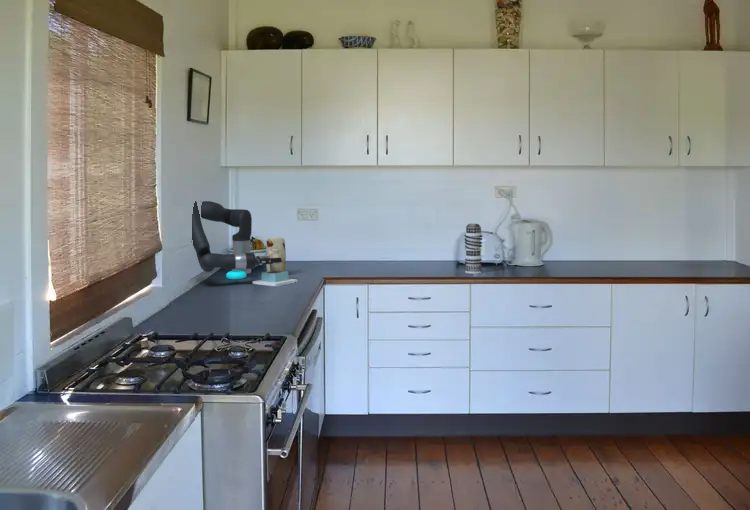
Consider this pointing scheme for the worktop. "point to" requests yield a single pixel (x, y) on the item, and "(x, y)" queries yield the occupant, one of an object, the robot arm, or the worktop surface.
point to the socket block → (274, 279)
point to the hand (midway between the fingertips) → (279, 259)
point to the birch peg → (274, 254)
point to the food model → (279, 244)
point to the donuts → (236, 274)
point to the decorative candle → (473, 248)
